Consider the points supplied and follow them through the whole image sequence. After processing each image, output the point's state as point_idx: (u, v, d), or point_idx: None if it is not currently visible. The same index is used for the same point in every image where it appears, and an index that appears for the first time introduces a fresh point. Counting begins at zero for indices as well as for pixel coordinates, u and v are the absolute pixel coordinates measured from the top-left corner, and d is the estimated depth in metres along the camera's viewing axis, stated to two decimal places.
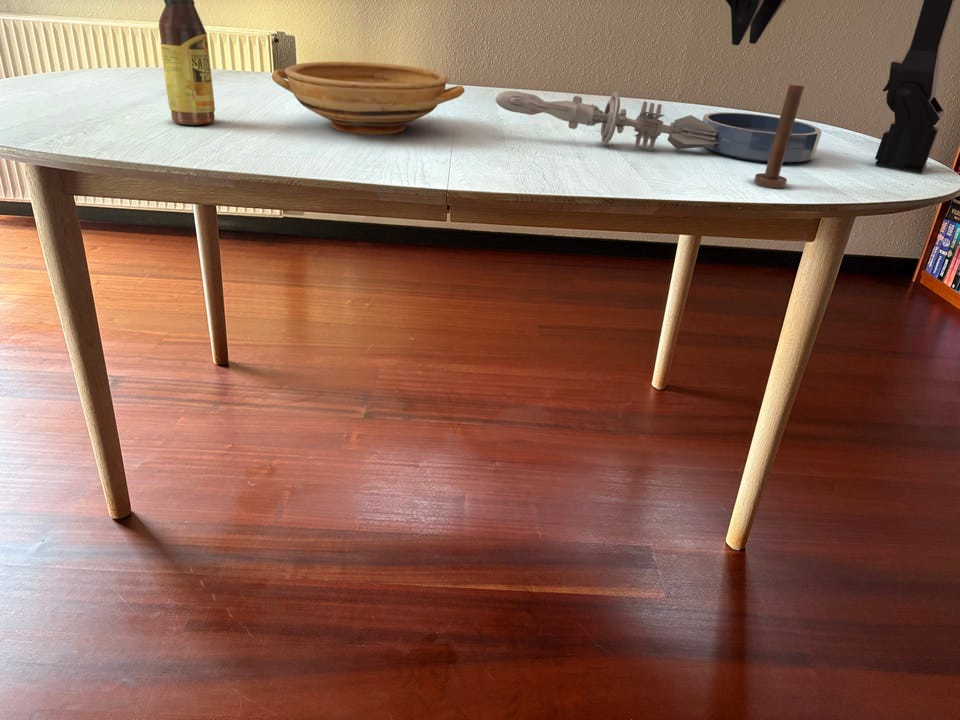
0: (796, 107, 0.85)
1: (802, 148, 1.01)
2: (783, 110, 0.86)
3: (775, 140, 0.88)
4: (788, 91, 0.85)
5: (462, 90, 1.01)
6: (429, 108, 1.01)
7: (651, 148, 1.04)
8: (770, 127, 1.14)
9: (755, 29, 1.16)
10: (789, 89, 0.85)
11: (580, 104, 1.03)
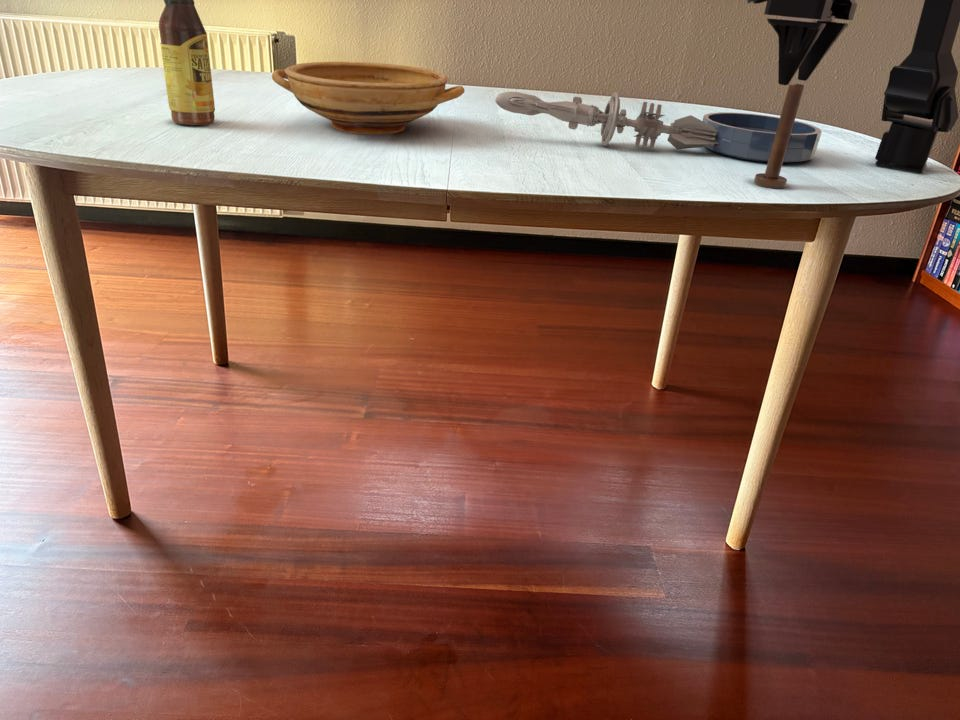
0: (796, 107, 0.85)
1: (802, 148, 1.01)
2: (783, 110, 0.86)
3: (775, 140, 0.88)
4: (788, 91, 0.85)
5: (462, 90, 1.01)
6: (429, 108, 1.01)
7: (651, 148, 1.04)
8: (770, 127, 1.14)
9: (806, 62, 0.88)
10: (789, 89, 0.85)
11: (580, 104, 1.03)
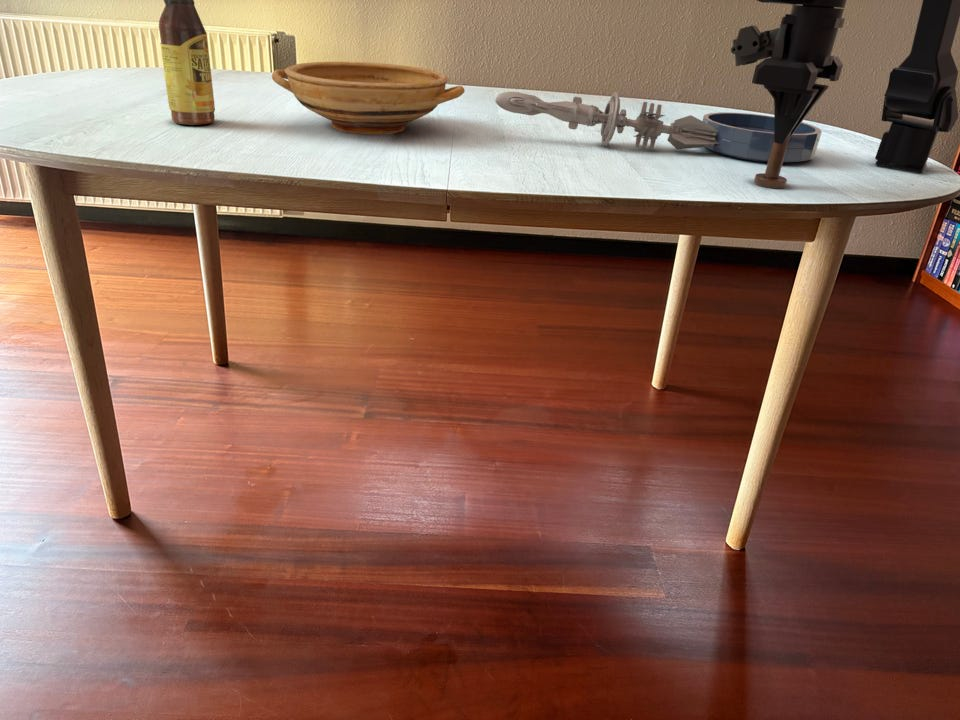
0: None
1: (802, 148, 1.01)
2: None
3: None
4: None
5: (462, 90, 1.01)
6: (429, 108, 1.01)
7: (651, 148, 1.04)
8: (770, 127, 1.14)
9: None
10: None
11: (580, 104, 1.03)
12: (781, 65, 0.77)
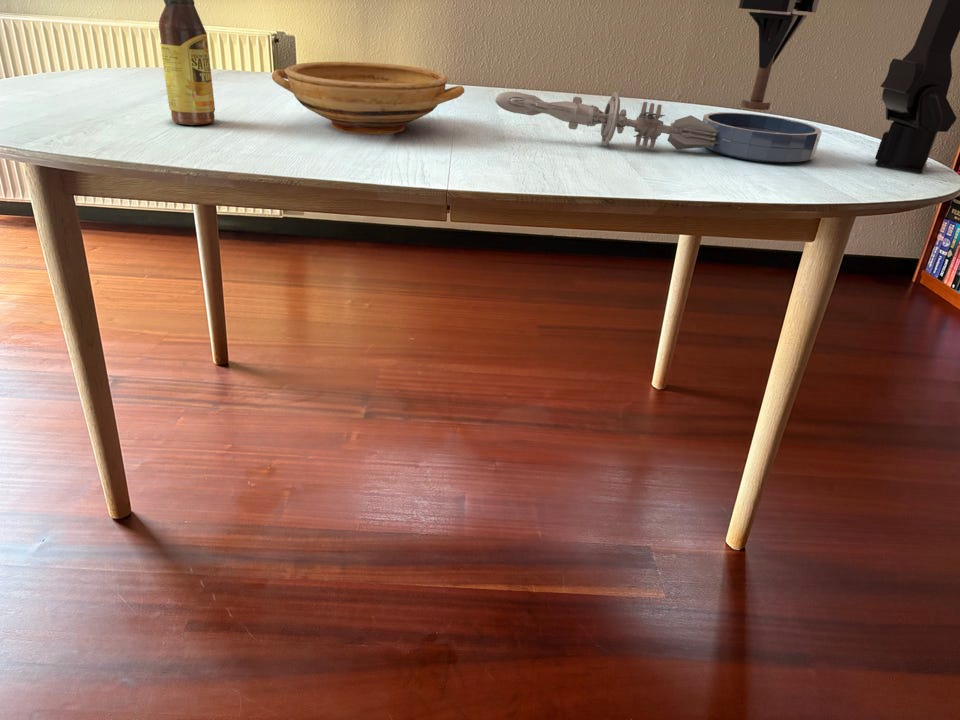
0: None
1: (802, 148, 1.01)
2: None
3: None
4: None
5: (462, 90, 1.01)
6: (429, 108, 1.01)
7: (651, 148, 1.04)
8: (770, 127, 1.14)
9: None
10: None
11: (580, 104, 1.03)
12: None
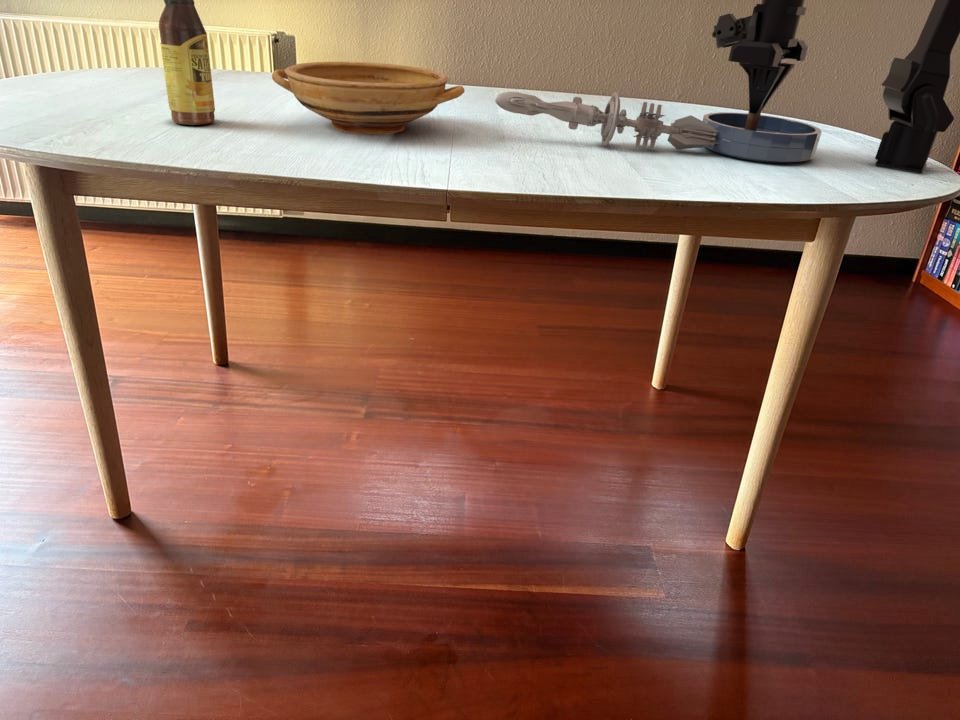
0: None
1: (802, 148, 1.01)
2: None
3: None
4: None
5: (462, 90, 1.01)
6: (429, 108, 1.01)
7: (651, 148, 1.04)
8: (770, 127, 1.14)
9: None
10: None
11: (580, 105, 1.03)
12: (751, 45, 0.94)
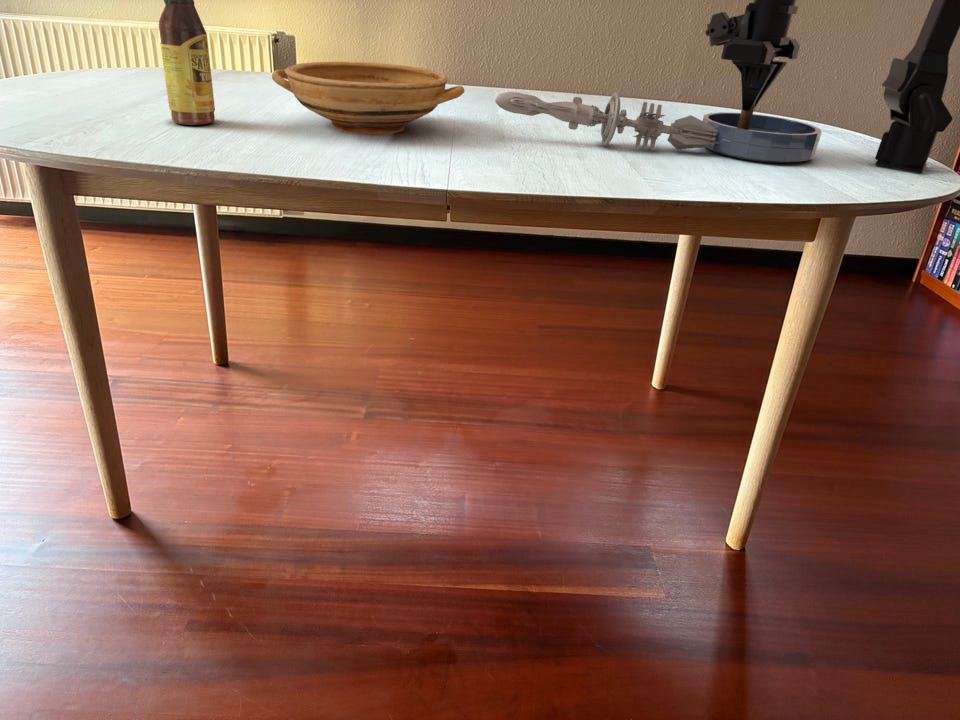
0: None
1: (802, 148, 1.01)
2: None
3: None
4: None
5: (462, 90, 1.01)
6: (429, 108, 1.01)
7: (651, 148, 1.04)
8: (770, 127, 1.14)
9: None
10: None
11: (580, 105, 1.03)
12: (744, 43, 0.95)
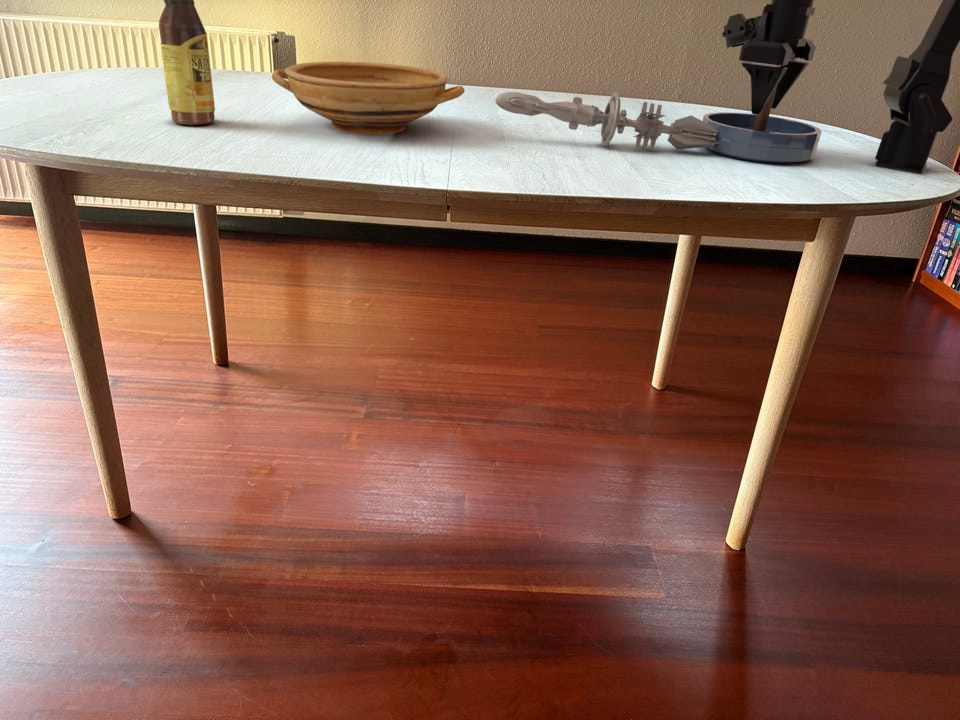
0: None
1: (802, 148, 1.01)
2: None
3: None
4: None
5: (462, 90, 1.01)
6: (429, 108, 1.01)
7: (651, 148, 1.04)
8: (770, 127, 1.14)
9: (775, 94, 1.08)
10: None
11: (580, 105, 1.03)
12: (762, 45, 0.95)
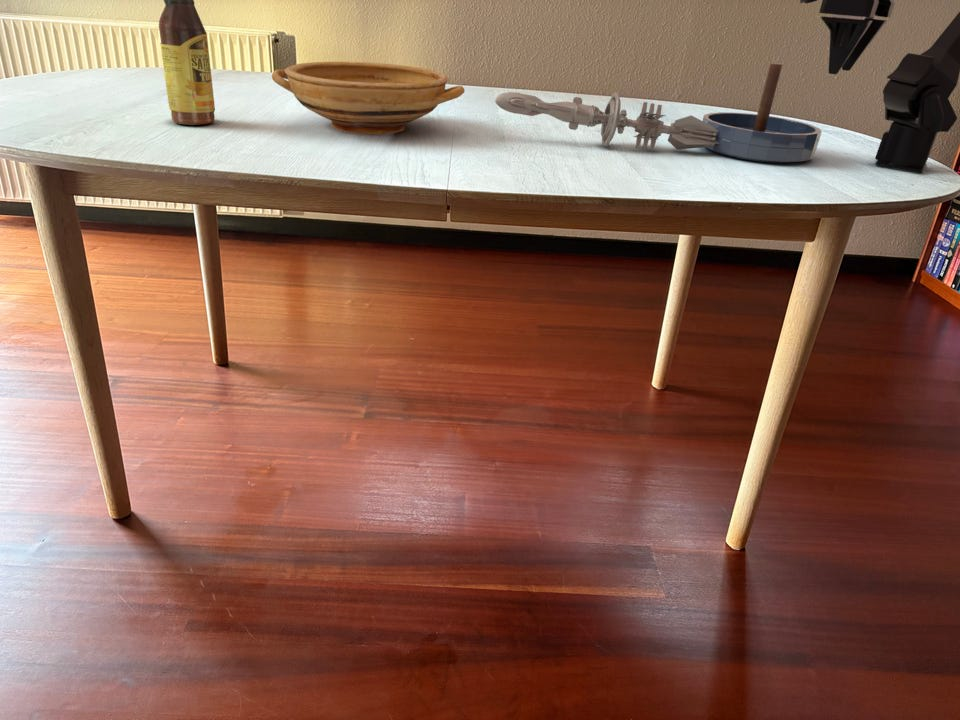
0: (776, 82, 1.03)
1: (802, 148, 1.01)
2: (765, 85, 1.04)
3: (759, 110, 1.06)
4: (769, 69, 1.03)
5: (462, 90, 1.01)
6: (429, 108, 1.01)
7: (652, 149, 1.04)
8: (770, 127, 1.14)
9: (850, 54, 1.01)
10: (770, 67, 1.03)
11: (580, 105, 1.03)
12: None
